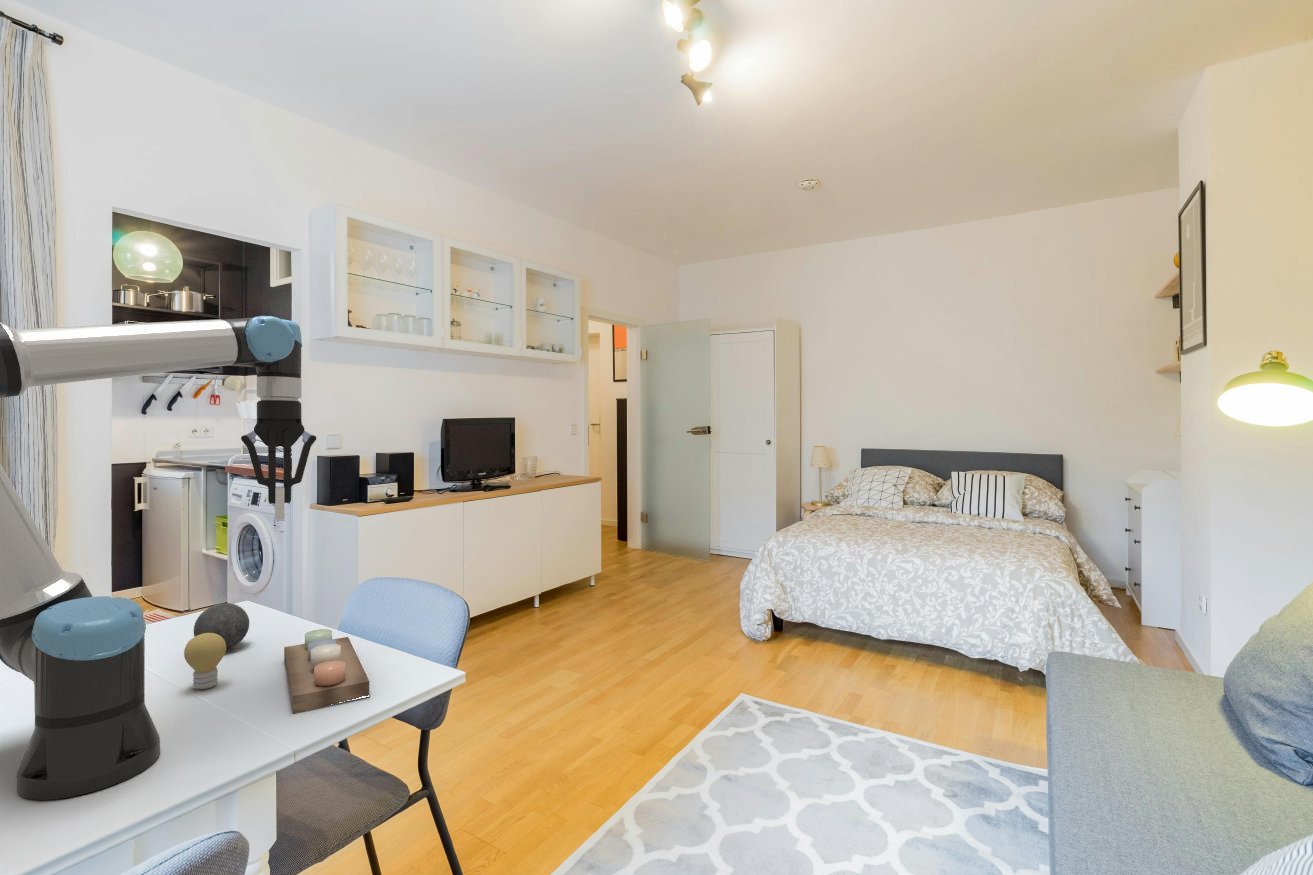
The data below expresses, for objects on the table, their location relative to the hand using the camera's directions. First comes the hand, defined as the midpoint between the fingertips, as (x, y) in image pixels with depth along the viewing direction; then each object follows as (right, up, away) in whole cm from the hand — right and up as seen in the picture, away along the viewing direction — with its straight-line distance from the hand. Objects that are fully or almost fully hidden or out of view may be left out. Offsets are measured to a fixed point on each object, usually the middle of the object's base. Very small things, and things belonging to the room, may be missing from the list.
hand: (279, 519), depth 124 cm
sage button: (+4, -27, +7) cm, 28 cm away
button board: (+9, -31, -1) cm, 32 cm away
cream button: (+11, -26, -4) cm, 29 cm away
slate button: (+8, -27, +1) cm, 28 cm away
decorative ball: (-21, -30, +14) cm, 39 cm away
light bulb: (-10, -31, -6) cm, 33 cm away
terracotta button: (+15, -28, -10) cm, 33 cm away
